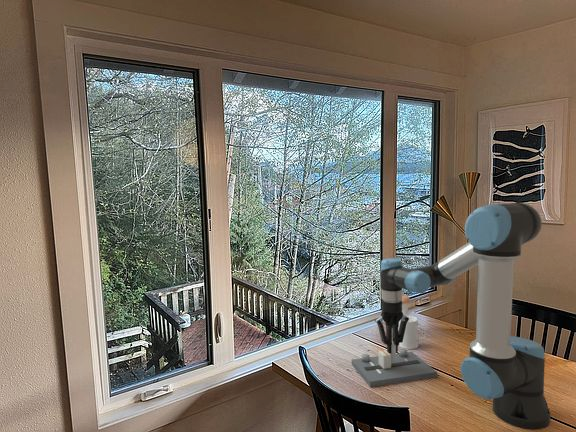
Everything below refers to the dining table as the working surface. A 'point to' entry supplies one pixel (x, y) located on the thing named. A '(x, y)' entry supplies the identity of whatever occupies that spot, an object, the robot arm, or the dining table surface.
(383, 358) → the fader tab
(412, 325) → the mug
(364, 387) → the dining table surface
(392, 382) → the console board
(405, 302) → the pepper shaker
